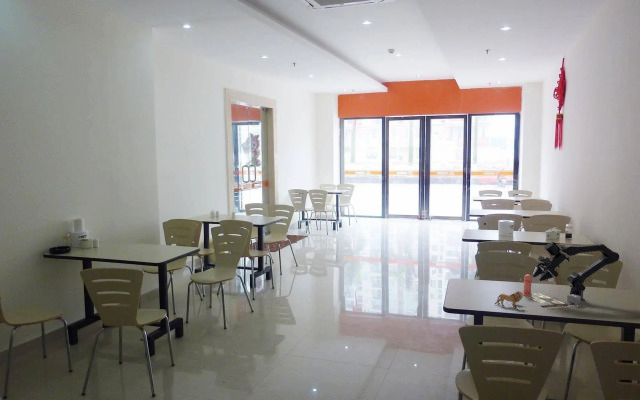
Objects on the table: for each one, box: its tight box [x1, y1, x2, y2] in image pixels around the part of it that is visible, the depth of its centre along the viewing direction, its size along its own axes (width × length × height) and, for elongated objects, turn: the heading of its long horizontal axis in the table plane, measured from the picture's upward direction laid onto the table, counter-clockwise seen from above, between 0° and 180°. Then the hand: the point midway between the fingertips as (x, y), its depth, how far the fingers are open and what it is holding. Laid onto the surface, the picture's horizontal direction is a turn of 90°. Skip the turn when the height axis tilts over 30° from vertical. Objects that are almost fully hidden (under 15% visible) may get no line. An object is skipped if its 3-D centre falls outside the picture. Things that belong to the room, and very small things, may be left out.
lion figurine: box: [494, 290, 524, 309], centre depth 269 cm, size 15×5×9 cm, turn 75°
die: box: [566, 294, 582, 307], centre depth 275 cm, size 5×5×5 cm
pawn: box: [522, 274, 533, 297], centre depth 287 cm, size 5×5×13 cm
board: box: [522, 292, 569, 309], centre depth 280 cm, size 16×23×1 cm
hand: (536, 278), depth 286 cm, fingers open, 9 cm apart
